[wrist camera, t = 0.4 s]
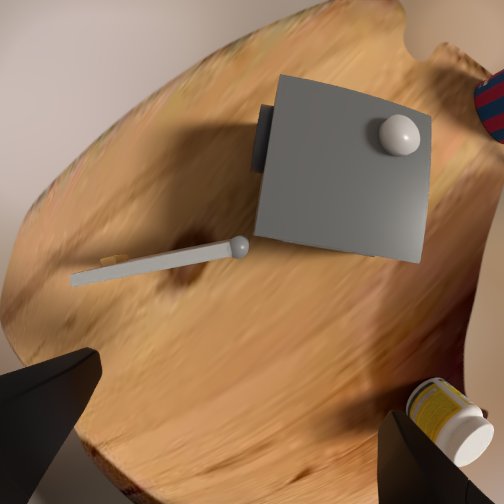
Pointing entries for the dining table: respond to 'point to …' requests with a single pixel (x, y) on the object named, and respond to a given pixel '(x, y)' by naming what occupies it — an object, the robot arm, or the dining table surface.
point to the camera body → (342, 171)
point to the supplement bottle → (450, 420)
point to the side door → (161, 260)
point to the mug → (492, 104)
